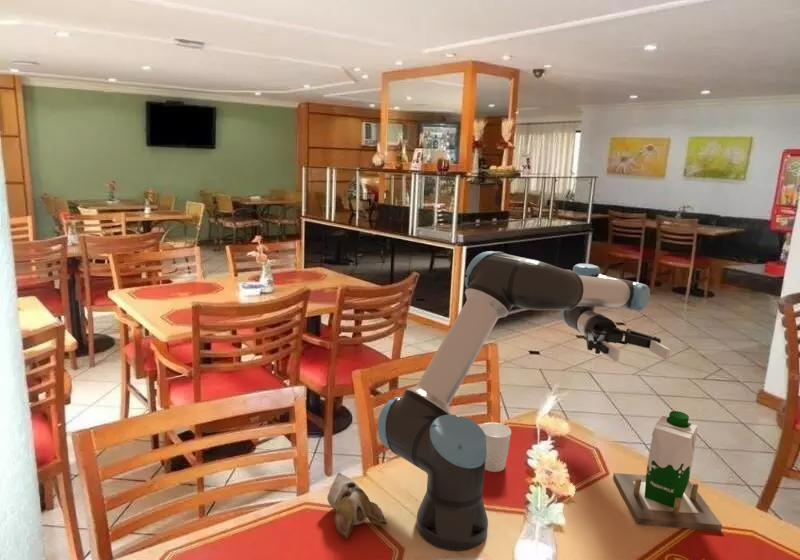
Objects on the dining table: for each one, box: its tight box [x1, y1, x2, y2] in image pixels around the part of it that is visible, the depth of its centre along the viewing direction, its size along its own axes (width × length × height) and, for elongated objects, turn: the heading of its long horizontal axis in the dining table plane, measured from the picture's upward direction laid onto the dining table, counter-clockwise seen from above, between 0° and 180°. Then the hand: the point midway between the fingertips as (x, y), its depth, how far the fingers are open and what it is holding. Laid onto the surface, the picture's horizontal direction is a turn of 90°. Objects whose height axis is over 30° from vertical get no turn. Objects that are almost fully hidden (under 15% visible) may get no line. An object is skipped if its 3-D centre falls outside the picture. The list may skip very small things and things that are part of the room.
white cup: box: [479, 421, 512, 473], centre depth 146 cm, size 8×8×10 cm
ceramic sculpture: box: [327, 472, 388, 539], centre depth 123 cm, size 11×9×15 cm
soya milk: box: [645, 410, 698, 508], centre depth 132 cm, size 9×9×20 cm
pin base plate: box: [612, 472, 723, 532], centre depth 134 cm, size 18×18×6 cm
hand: (643, 355), depth 139 cm, fingers open, 13 cm apart
